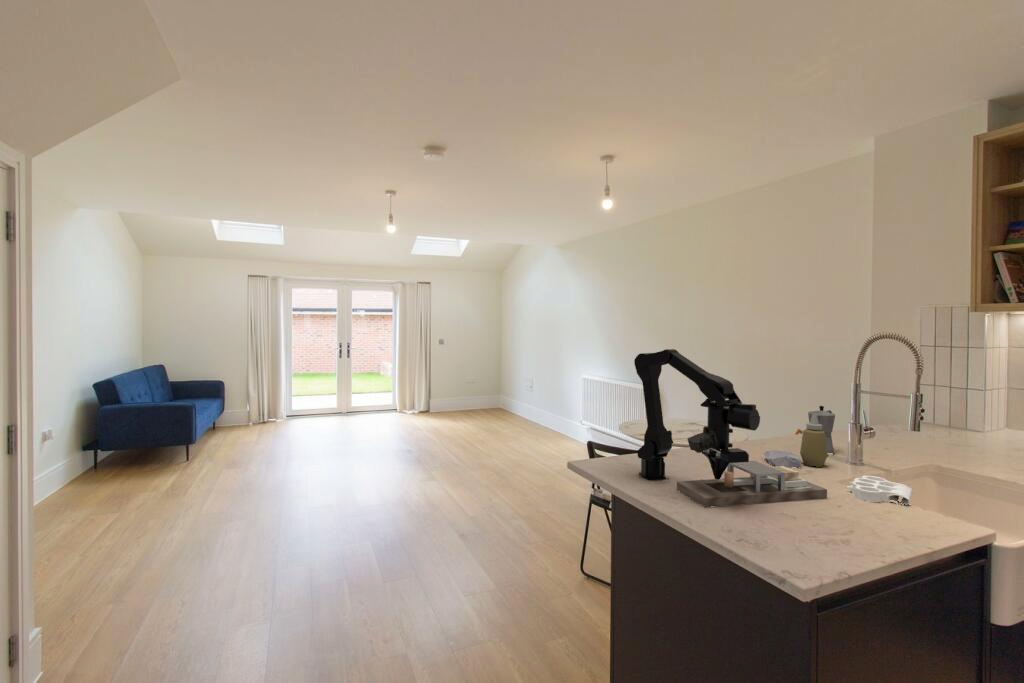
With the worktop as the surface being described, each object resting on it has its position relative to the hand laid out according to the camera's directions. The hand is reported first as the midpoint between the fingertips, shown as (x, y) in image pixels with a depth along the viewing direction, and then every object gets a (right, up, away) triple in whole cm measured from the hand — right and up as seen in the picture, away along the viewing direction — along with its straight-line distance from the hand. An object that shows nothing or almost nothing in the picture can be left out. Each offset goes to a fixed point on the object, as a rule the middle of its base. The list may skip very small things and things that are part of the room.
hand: (717, 479), depth 136 cm
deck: (+10, -5, +2) cm, 12 cm away
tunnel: (+12, -2, +2) cm, 12 cm away
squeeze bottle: (+47, -5, +32) cm, 57 cm away
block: (+20, -2, +4) cm, 21 cm away
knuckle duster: (+47, -6, +2) cm, 48 cm away
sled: (+14, -2, +3) cm, 14 cm away
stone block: (+37, -5, +35) cm, 51 cm away
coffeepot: (+62, -4, +50) cm, 80 cm away
